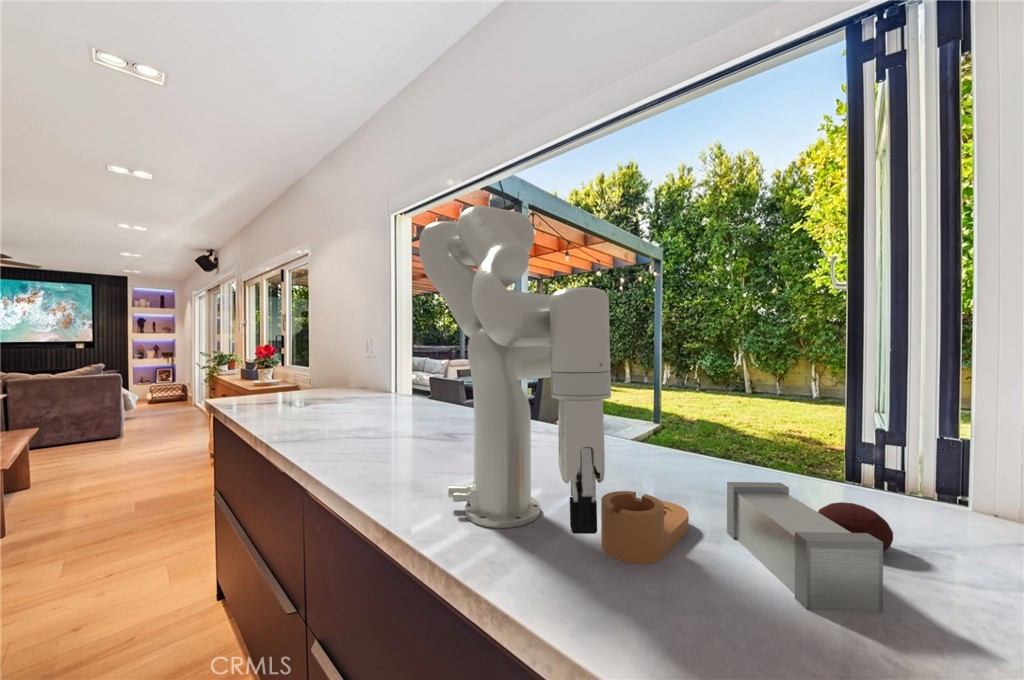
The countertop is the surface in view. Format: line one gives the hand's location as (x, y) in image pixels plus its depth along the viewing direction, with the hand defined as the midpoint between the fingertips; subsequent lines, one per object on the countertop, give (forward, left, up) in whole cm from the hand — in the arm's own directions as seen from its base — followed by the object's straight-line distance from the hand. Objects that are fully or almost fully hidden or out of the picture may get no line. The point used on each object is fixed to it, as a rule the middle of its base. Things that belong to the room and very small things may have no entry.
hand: (583, 530), depth 53 cm
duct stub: (+27, +2, -5) cm, 27 cm away
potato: (+39, +7, -5) cm, 40 cm away
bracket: (+10, +9, -6) cm, 15 cm away
